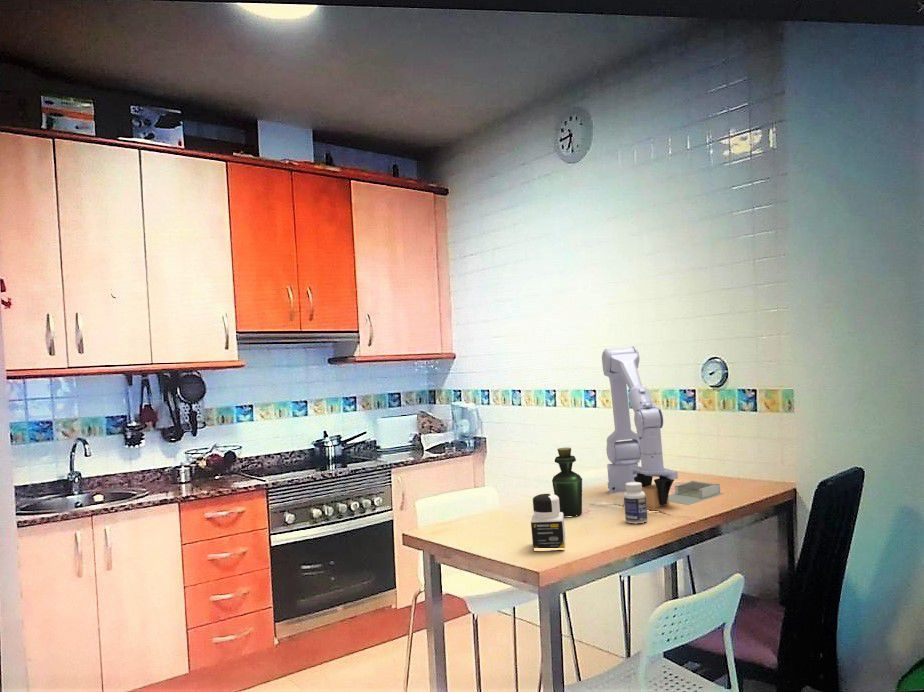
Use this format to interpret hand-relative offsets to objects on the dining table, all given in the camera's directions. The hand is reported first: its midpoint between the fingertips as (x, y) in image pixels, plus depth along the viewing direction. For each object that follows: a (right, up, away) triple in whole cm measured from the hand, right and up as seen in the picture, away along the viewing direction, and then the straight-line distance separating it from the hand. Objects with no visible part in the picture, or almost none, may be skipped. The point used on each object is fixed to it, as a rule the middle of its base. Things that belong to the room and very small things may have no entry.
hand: (655, 503), depth 181 cm
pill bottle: (-8, -2, -11) cm, 13 cm away
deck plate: (+11, -1, +6) cm, 13 cm away
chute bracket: (+14, +1, +8) cm, 16 cm away
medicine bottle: (-32, -4, -26) cm, 41 cm away
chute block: (0, -2, 0) cm, 2 cm away
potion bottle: (-23, -4, +2) cm, 23 cm away
